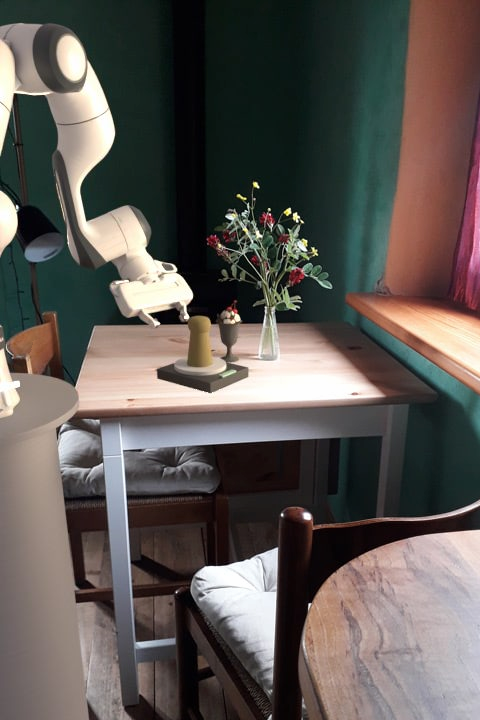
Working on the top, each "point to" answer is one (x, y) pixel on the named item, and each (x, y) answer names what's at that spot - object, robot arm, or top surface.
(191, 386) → the scale
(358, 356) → the top surface
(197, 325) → the cork
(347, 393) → the top surface
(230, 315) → the sundae
